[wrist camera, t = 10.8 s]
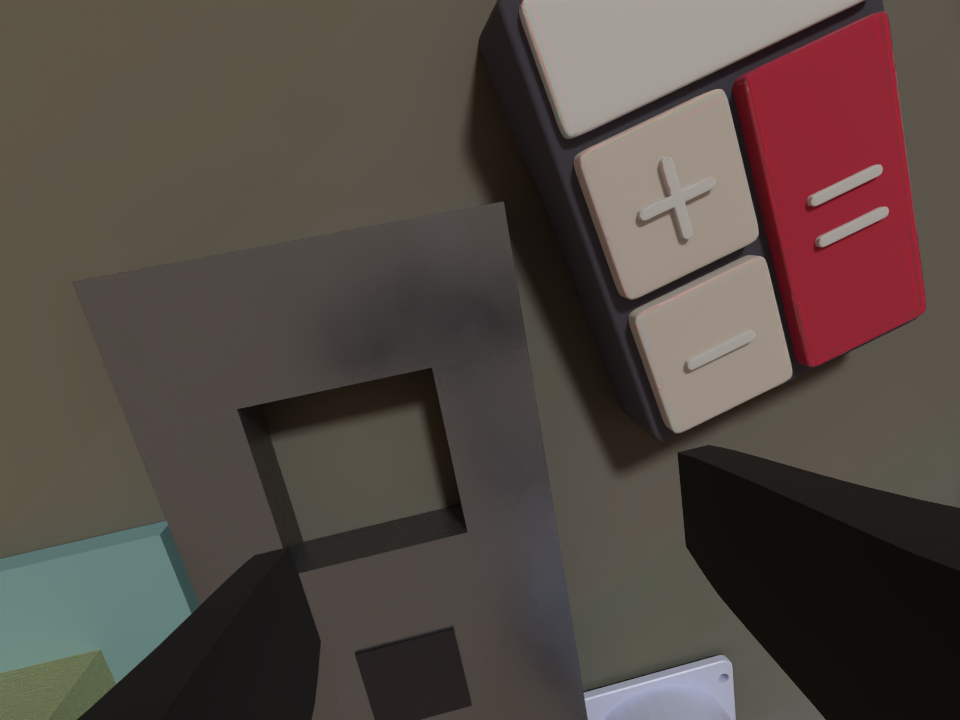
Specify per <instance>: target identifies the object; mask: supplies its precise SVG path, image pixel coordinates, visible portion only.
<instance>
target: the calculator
mask: <svg viewBox="0 0 960 720" xmlns="http://www.w3.org/2000/svg"><path fill="white" fill-rule="evenodd" d="M479 48H480V51H481V54H482V57H483V59H484V62H485V64H486V67H487V70H488V72H489V75H490V77H491V80H492V82H493V85H494V87H495V90H496V92H497V95H498V97H499V100H500V102H501V105H502V107H503V110H504V112H505V115H506V117H507V120H508V122H509V125H510V127H511V130H512V132H513V135H514V137H515V140H516V142H517V145H518V147H519V150H520V152H521V155H522V157H523V159H524V161H525V162H526V164H527V166H528V168H529V169H530V171H531V173H532V176H533V178H534V181H535V183H536V186H537V189H538V191H539V194H540V197H541V199H542V202H543V204H544V207H545V210H546V212H547V215H548V218H549V220H550V223H551V225H552V228H553V231H554V233H555V236H556V239H557V241H558V244H559V246H560V249H561V252H562V254H563V257H564V260H565V262H566V265H567V267H568V270H569V273H570V275H571V278H572V281H573V283H574V286H575V288H576V291H577V294H578V296H579V299H580V302H581V304H582V307H583V309H584V312H585V315H586V317H587V320H588V322H589V325H590V328H591V330H592V333H593V335H594V338H595V340H596V343H597V346H598V348H599V351H600V353H601V356H602V358H603V361H604V363H605V366H606V368H607V371H608V373H609V376H610V378H611V381H612V384H613V386H614V389H615V391H616V394H617V396H618V399H619V401H620V404H621V406H622V408H623V410H624V412H625V413H626V414H627V415H628V416H629V417H630V418H632V419H633V420H634V421H635V422H636V423H637V424H638V425H639V426H641V427H642V428H643V429H644V430H645V431H646V432H647V433H648V434H650V435H651V436H652V437H653V438H654V439H656V440H657V441H660V442H665V441H668V440H670V439H673V438H675V437H677V436H679V435H681V434H683V433H685V432H687V431H689V430H691V429H693V428H695V427H697V426H699V425H701V424H703V423H705V422H707V421H710V420H712V419H714V418H716V417H718V416H720V415H722V414H724V413H726V412H728V411H730V410H732V409H734V408H736V407H738V406H740V405H742V404H744V403H746V402H748V401H750V400H752V399H754V398H756V397H758V396H760V395H763V394H765V393H767V392H769V391H771V390H773V389H775V388H777V387H779V386H781V385H783V384H785V383H787V382H789V381H791V380H793V379H795V378H797V377H799V376H801V375H803V374H805V373H807V372H809V371H811V370H813V369H816V368H818V367H820V366H822V365H824V364H826V363H828V362H830V361H832V360H834V359H836V358H838V357H840V356H842V355H844V354H846V353H848V352H850V351H852V350H854V349H856V348H858V347H860V346H862V345H864V344H866V343H868V342H871V341H873V340H875V339H877V338H879V337H881V336H883V335H885V334H887V333H889V332H891V331H893V330H895V329H897V328H899V327H901V326H903V325H905V324H907V323H909V322H911V321H913V320H915V319H916V318H917V317H919V316H920V315H921V314H923V313H924V312H925V310H926V297H925V289H924V282H923V274H922V266H921V259H920V251H919V244H918V236H917V228H916V221H915V213H914V205H913V198H912V190H911V183H910V175H909V167H908V160H907V152H906V144H905V137H904V129H903V121H902V114H901V106H900V99H899V91H898V83H897V76H896V68H895V60H894V53H893V45H892V38H891V30H890V24H889V20H888V15H887V14H886V13H885V12H884V7H883V0H497V2H496V4H495V6H494V8H493V10H492V12H491V14H490V16H489V18H488V20H487V22H486V24H485V27H484V29H483V31H482V33H481V35H480V38H479Z"/></svg>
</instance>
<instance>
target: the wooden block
mask: <svg viewBox="0 0 960 720" xmlns="http://www.w3.org/2000/svg"><path fill="white" fill-rule="evenodd" d="M115 685H116V682H115V680H114V677H113V675H112V673H111V671H110V669H109V666H108V664H107V662H106V660H105V658H104V655H103V653H102V651H101V649H99V650H95V651H91V652H87V653H83V654H78V655H74V656H70V657H66V658H62V659H58V660H53V661H49V662H45V663H41V664H37V665H33V666H28V667H24V668H20V669H16V670H12V671H8V672H3V673H0V720H77V719H78V718H79V717H80V716H81V715H83V714H84V713H85V712H86V711H87V710H88V709H89V708H91V707H92V706H93V705H94V704H95V703H96V702H97V701H98V700H99V699H100V698H102V697H103V696H104V695H105V694H106V693H107V692H108V691H109V690H110V689H111V688H113V687H114V686H115Z"/></svg>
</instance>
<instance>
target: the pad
mask: <svg viewBox="0 0 960 720" xmlns="http://www.w3.org/2000/svg"><path fill="white" fill-rule="evenodd" d="M199 606H200V604H199V601H198V599H197V596H196V594H195V591H194V589H193V586H192V584H191V581H190V579H189V576H188V574H187V571H186V569H185V566H184V564H183V561H182V558H181V556H180V553H179V551H178V548H177V546H176V543H175V541H174V538H173V536H172V533H171V531H170V528H169V526H168V523H167V521H164V522H159V523H155V524H151V525H146V526H142V527H138V528H133V529H129V530H125V531H120V532H116V533H111V534H107V535H103V536H98V537H94V538H90V539H85V540H81V541H77V542H72V543H68V544H64V545H59V546H55V547H50V548H46V549H42V550H37V551H33V552H29V553H24V554H20V555H16V556H11V557H7V558H2V559H0V673H3V672H8V671H12V670H16V669H20V668H24V667H28V666H33V665H37V664H41V663H45V662H49V661H53V660H58V659H62V658H66V657H70V656H74V655H78V654H83V653H87V652H91V651H95V650H99V649H101V651H102V653H103V655H104V658H105V660H106V662H107V664H108V666H109V669H110V671H111V673H112V675H113V677H114V680H115V682H116V684H117V683H118V682H119V681H120V680H121V679H122V678H124V677H125V676H126V675H127V674H128V673H129V672H130V671H131V670H132V669H133V668H135V667H136V666H137V665H138V664H139V663H140V662H141V661H142V660H143V659H144V658H146V657H147V656H148V655H149V654H150V653H151V652H152V651H153V650H154V649H155V648H157V647H158V646H159V645H160V644H161V643H162V642H163V641H164V640H165V639H166V638H167V637H168V636H169V635H170V634H171V633H172V632H173V631H174V630H175V629H176V628H177V627H178V626H179V625H180V624H181V623H182V622H184V621H185V620H186V619H187V618H188V617H189V616H190V615H191V614H192V613H193V612H194V611H195V610H196V609H197V608H198V607H199Z"/></svg>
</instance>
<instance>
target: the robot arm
mask: <svg viewBox="0 0 960 720" xmlns="http://www.w3.org/2000/svg"><path fill="white" fill-rule="evenodd" d="M678 462H679V473H680V484H681V496H682V507H683V518H684V529H685V540H686V547H687V549H688V550H689V552H690V553H691V555H692V556H693V558H694V559H695V561H696V563H697V564H698V566H699V567H700V569H701V570H702V572H703V573H704V575H705V576H706V578H707V579H708V581H709V582H710V583H711V585H712V586H713V588H714V589H715V591H716V592H717V594H718V595H719V596H720V597H721V598H722V600H723V601H724V602H725V603H726V604H727V606H728V607H729V608H730V609H731V610H732V611H733V613H734V614H735V615H736V616H737V617H738V618H739V620H740V621H741V622H742V623H743V624H744V625H745V627H746V628H747V629H748V630H749V631H750V632H751V634H752V635H753V636H754V637H755V638H756V639H757V641H758V642H759V643H760V644H761V645H762V646H763V647H764V649H765V650H766V651H767V652H768V653H769V654H770V655H771V657H772V658H773V659H774V660H775V661H776V662H777V664H778V665H779V666H780V667H781V668H782V669H783V670H784V672H785V673H786V674H787V675H788V676H789V677H790V678H791V680H792V681H793V682H794V683H795V684H796V685H797V687H798V688H799V689H800V690H801V691H802V692H803V693H804V695H805V696H806V697H807V698H808V699H809V700H810V701H811V703H812V704H813V705H814V706H815V707H816V708H817V710H818V711H819V712H820V713H821V714H822V716H823V717H824V718H825V719H826V720H960V508H957V507H952V506H947V505H942V504H937V503H933V502H928V501H923V500H919V499H914V498H910V497H906V496H902V495H898V494H894V493H889V492H885V491H881V490H877V489H873V488H869V487H865V486H861V485H857V484H853V483H849V482H846V481H842V480H838V479H834V478H831V477H827V476H823V475H820V474H816V473H813V472H809V471H806V470H802V469H798V468H795V467H792V466H788V465H785V464H781V463H778V462H774V461H771V460H767V459H764V458H760V457H756V456H753V455H749V454H746V453H742V452H738V451H734V450H730V449H726V448H721V447H716V446H711V445H707V446H703V447H699V448H694V449H690V450H686V451H682V452H678ZM320 647H321V640H320V637H319V634H318V631H317V628H316V625H315V622H314V619H313V616H312V613H311V610H310V607H309V604H308V601H307V598H306V595H305V592H304V589H303V586H302V583H301V580H300V577H299V574H298V571H297V568H296V565H295V562H294V559H293V556H292V553H291V550H290V547H286V548H282V549H278V550H274V551H270V552H266V553H262V554H257V555H254V556H253V557H252V558H250V559H249V560H248V561H247V562H245V563H244V564H243V565H242V566H241V567H240V568H239V569H238V570H237V571H235V572H234V573H233V574H232V575H231V576H230V577H229V578H228V579H227V580H226V581H225V582H224V583H223V584H222V585H221V586H220V587H219V588H218V589H217V590H215V591H214V592H213V593H212V594H211V595H210V596H209V597H208V598H207V599H206V600H205V601H204V602H203V603H202V604H201V605H200V606H199V607H198V608H197V609H196V610H195V611H194V612H193V613H192V614H191V615H190V616H189V617H188V618H187V619H186V620H185V621H184V622H182V623H181V624H180V625H179V626H178V627H177V628H176V629H175V630H174V631H173V632H172V633H171V634H170V635H169V636H168V637H167V638H166V639H165V640H164V641H163V642H162V643H161V644H160V645H159V646H158V647H157V648H155V649H154V650H153V651H152V652H151V653H150V654H149V655H148V656H147V657H146V658H144V659H143V660H142V661H141V662H140V663H139V664H138V665H137V666H136V667H135V668H133V669H132V670H131V671H130V672H129V673H128V674H127V675H126V676H125V677H124V678H122V679H121V680H120V681H119V682H118V683H117V684H116V685H115V686H114V687H113V688H111V689H110V690H109V691H108V692H107V693H106V694H105V695H104V696H103V697H102V698H100V699H99V700H98V701H97V702H96V703H95V704H94V705H93V706H92V707H91V708H89V709H88V710H87V711H86V712H85V713H84V714H83V715H81V716H80V717H79V718H78V719H77V720H312V715H313V711H314V706H315V699H316V690H317V681H318V671H319V659H320ZM584 699H585V705H586V711H587V717H588V720H736V717H735V701H734V685H733V669H732V664H731V662H730V661H729V659H728V658H727V657H726V656H723V655H718V656H714V657H710V658H707V659H703V660H699V661H696V662H692V663H689V664H685V665H681V666H678V667H674V668H671V669H667V670H663V671H660V672H656V673H653V674H649V675H645V676H642V677H638V678H635V679H631V680H627V681H624V682H620V683H616V684H613V685H609V686H606V687H602V688H598V689H595V690H591V691H588V692H584Z"/></svg>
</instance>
